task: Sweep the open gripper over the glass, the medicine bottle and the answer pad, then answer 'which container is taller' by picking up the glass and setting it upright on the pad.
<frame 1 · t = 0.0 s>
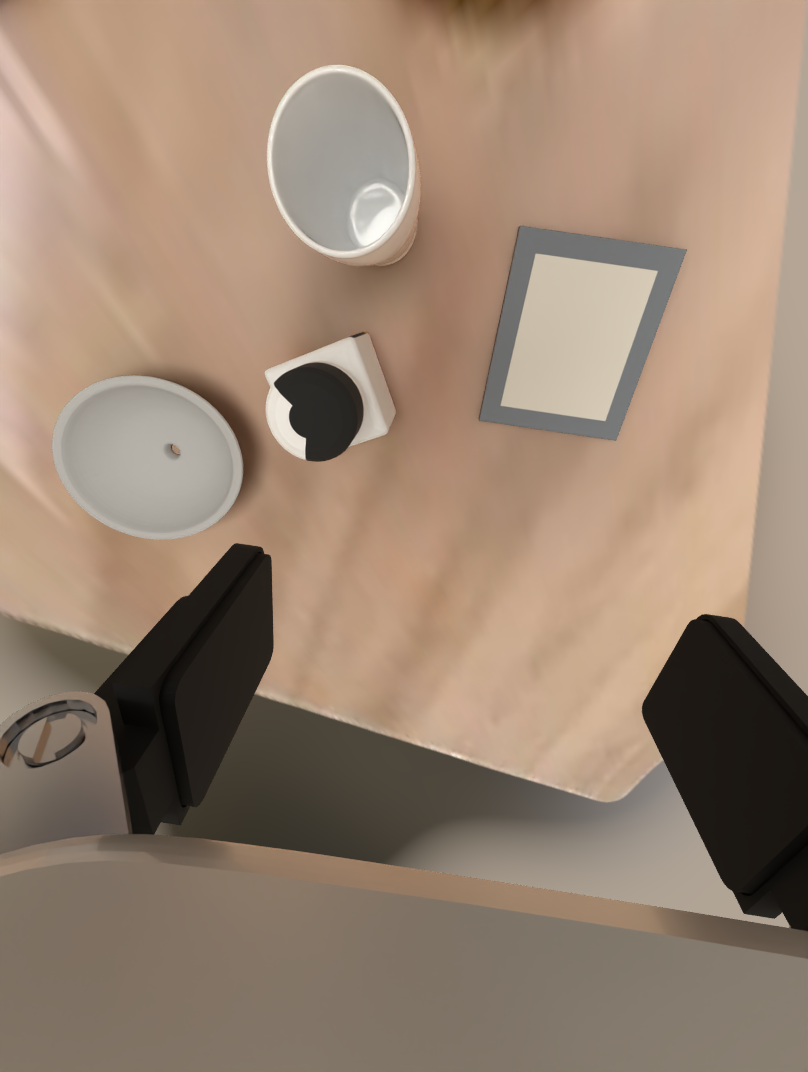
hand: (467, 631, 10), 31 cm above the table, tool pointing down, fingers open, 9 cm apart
drinking glass: (382, 224, 32), on the table
dish: (178, 448, 42), on the table
answer pad: (570, 343, 35), on the table
medicine bottle: (346, 387, 38), on the table
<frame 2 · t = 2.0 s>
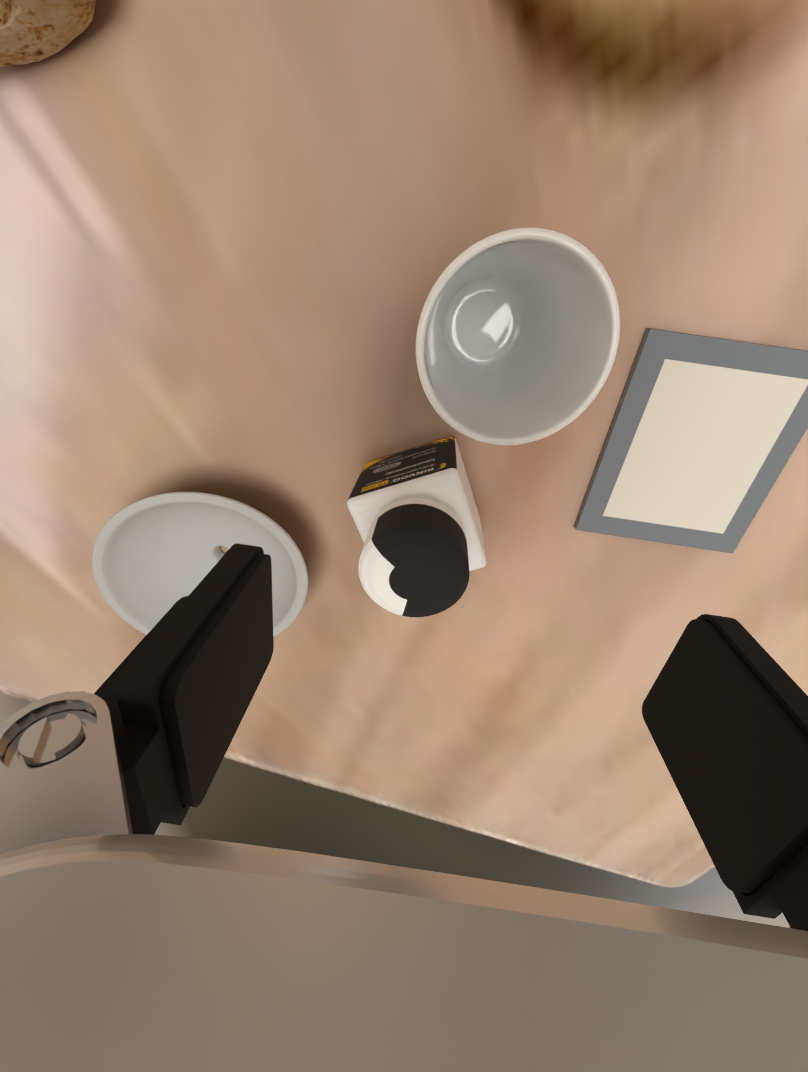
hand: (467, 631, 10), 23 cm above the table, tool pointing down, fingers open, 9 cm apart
drinking glass: (481, 322, 27), on the table
dish: (228, 546, 38), on the table
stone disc: (47, 18, 22), on the table
answer pad: (691, 451, 30), on the table
medicine bottle: (423, 490, 33), on the table
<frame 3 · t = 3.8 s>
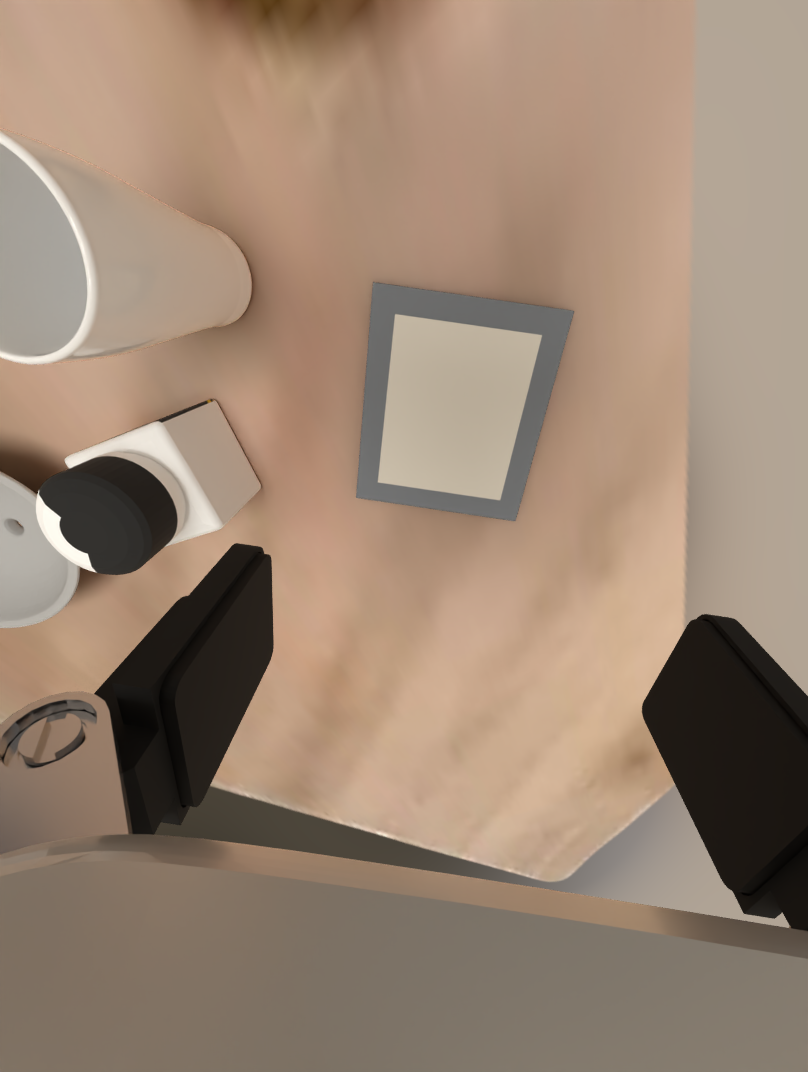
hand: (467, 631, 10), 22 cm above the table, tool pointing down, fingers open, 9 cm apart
drinking glass: (214, 278, 27), on the table
dish: (26, 520, 37), on the table
answer pad: (452, 413, 29), on the table
medicine bottle: (202, 458, 33), on the table
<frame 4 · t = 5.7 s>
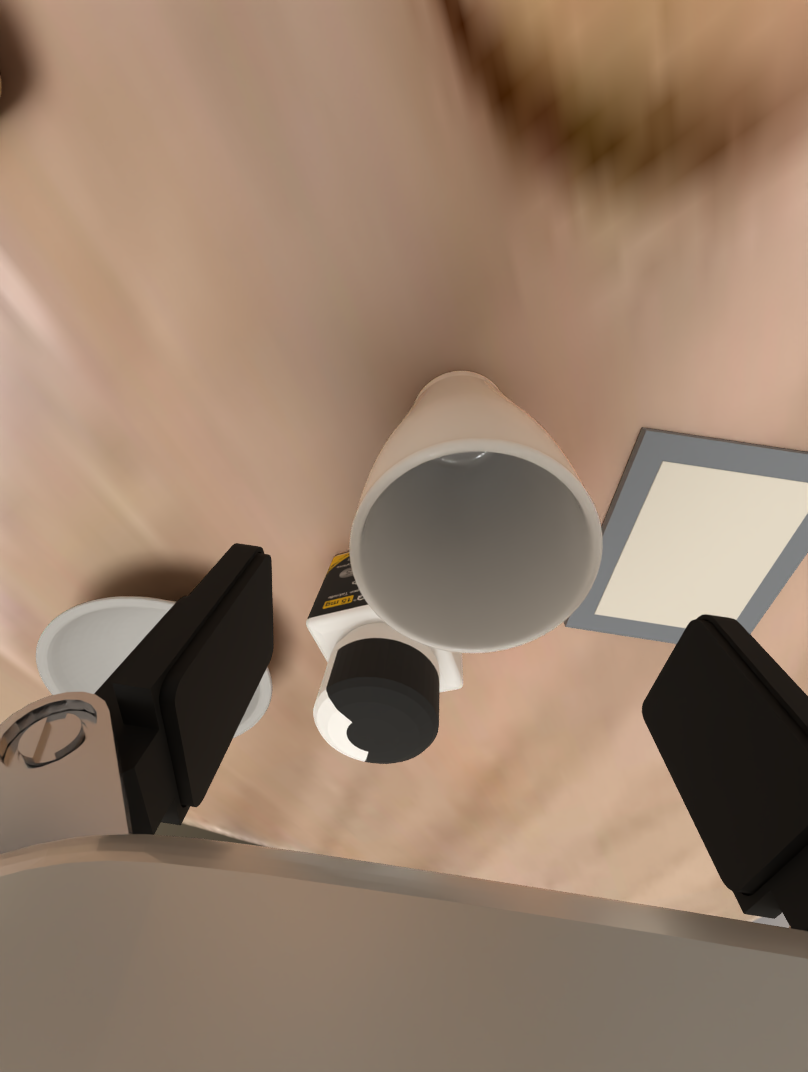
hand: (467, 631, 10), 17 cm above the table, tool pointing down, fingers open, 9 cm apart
drinking glass: (458, 417, 24), on the table
dish: (190, 631, 35), on the table
answer pad: (692, 551, 27), on the table
medicine bottle: (398, 582, 31), on the table
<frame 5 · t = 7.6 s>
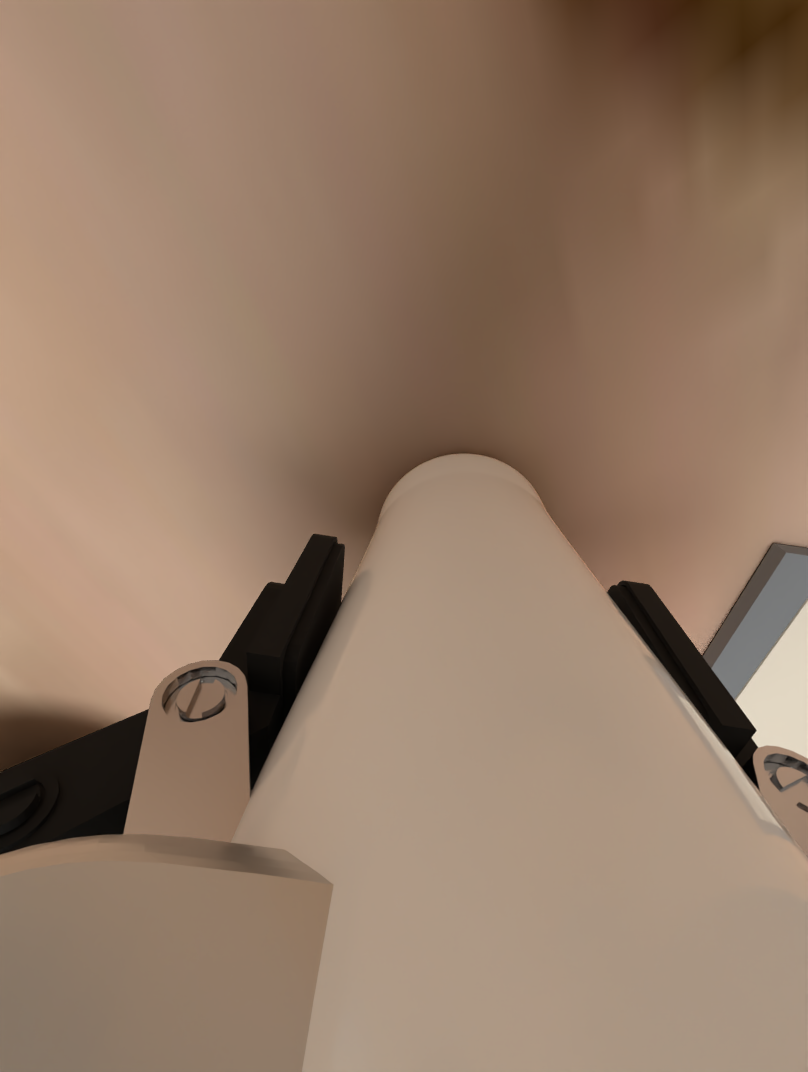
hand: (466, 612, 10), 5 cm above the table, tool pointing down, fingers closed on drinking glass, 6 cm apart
drinking glass: (459, 522, 15), on the table, touching gripper
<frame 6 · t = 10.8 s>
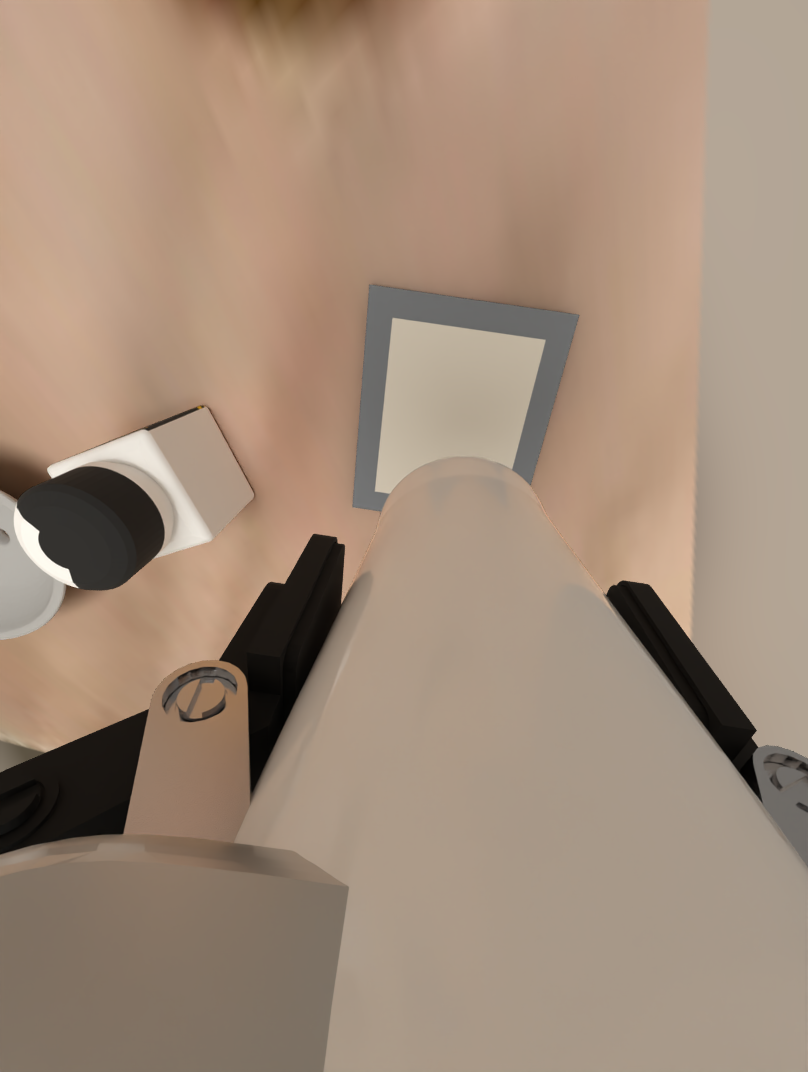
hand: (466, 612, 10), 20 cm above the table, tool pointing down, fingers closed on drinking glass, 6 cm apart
drinking glass: (459, 523, 15), point 15 cm above the table, touching gripper
dish: (12, 529, 35), on the table
answer pad: (451, 420, 28), on the table
medicine bottle: (193, 465, 32), on the table
when the fingers open (7 cm above the table, at t = 14.1 s): drinking glass drops 1 cm, resting on answer pad.
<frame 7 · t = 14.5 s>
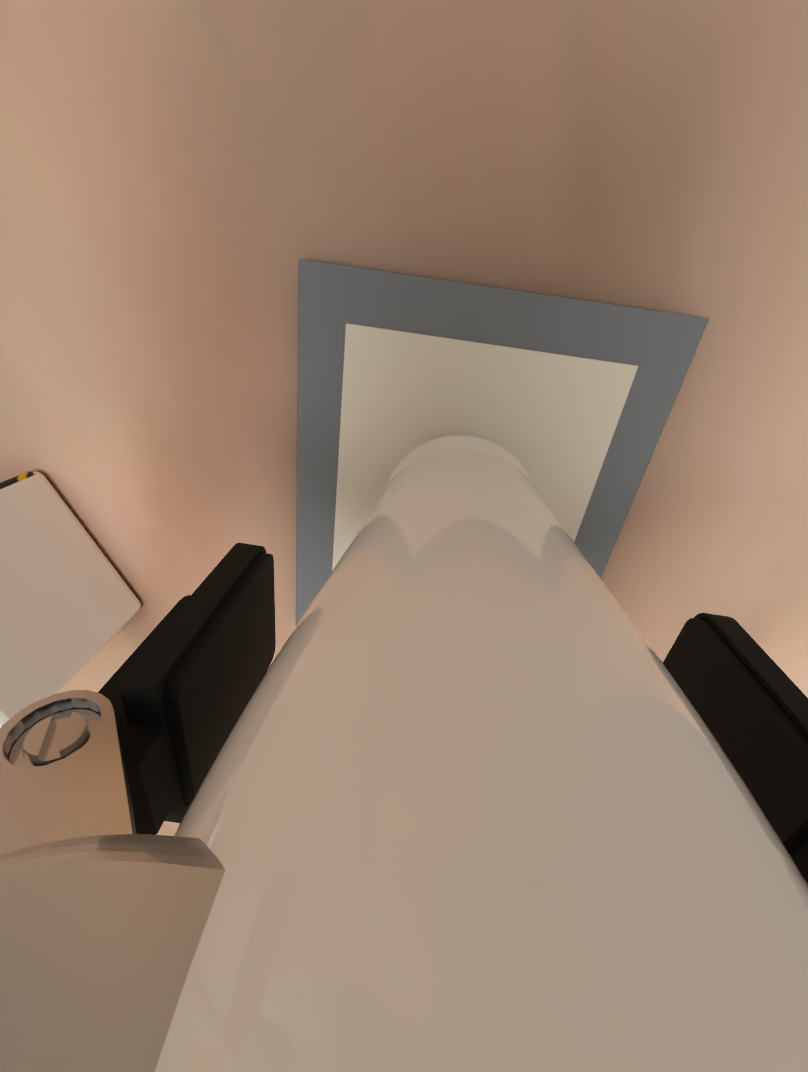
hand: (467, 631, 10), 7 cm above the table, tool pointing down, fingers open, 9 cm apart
drinking glass: (457, 500, 16), point 1 cm above the table, touching answer pad
answer pad: (457, 499, 16), on the table
medicine bottle: (41, 559, 20), on the table
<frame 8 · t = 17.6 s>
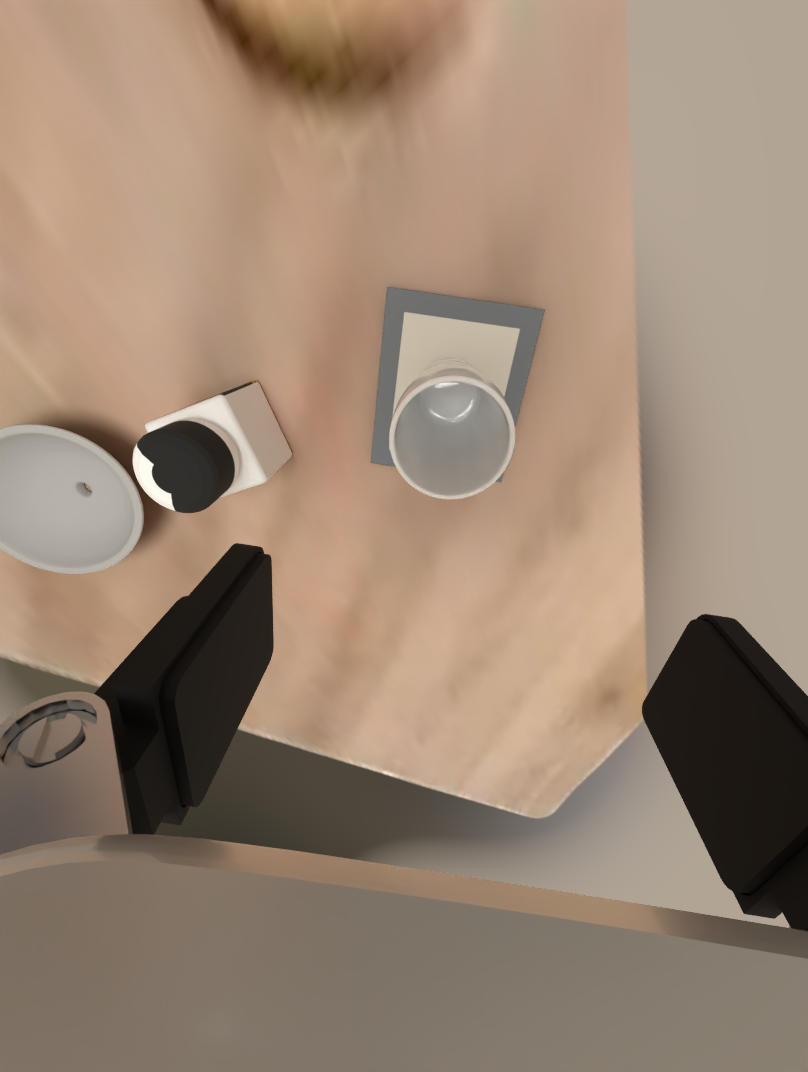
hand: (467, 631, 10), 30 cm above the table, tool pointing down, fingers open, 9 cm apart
drinking glass: (449, 390, 36), resting on answer pad
dish: (92, 485, 44), on the table
answer pad: (449, 392, 36), on the table
medicine bottle: (244, 430, 40), on the table
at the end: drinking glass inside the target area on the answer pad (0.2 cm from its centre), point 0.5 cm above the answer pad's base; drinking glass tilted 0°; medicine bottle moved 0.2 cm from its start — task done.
